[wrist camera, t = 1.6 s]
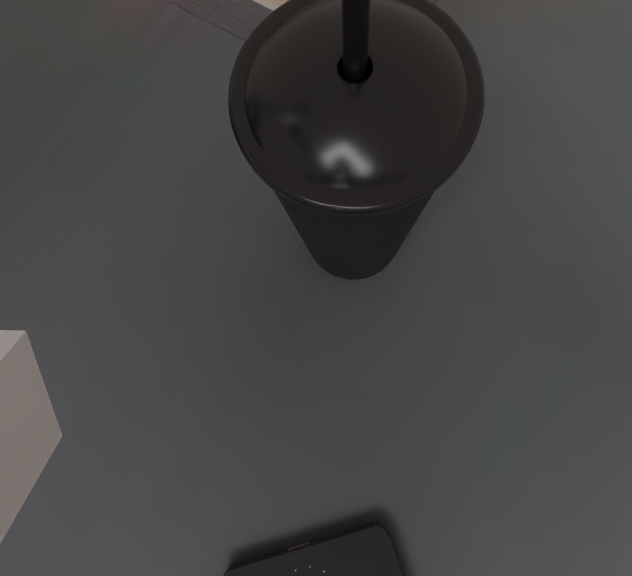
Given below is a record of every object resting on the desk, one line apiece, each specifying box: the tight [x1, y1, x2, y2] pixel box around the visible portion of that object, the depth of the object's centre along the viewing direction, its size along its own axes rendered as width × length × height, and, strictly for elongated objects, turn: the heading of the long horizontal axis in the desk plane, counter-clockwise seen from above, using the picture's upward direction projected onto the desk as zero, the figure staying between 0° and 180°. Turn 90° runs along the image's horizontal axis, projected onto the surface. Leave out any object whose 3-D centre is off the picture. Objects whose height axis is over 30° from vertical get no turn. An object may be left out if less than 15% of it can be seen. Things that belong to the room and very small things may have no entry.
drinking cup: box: [228, 0, 484, 279], centre depth 21 cm, size 8×8×20 cm
